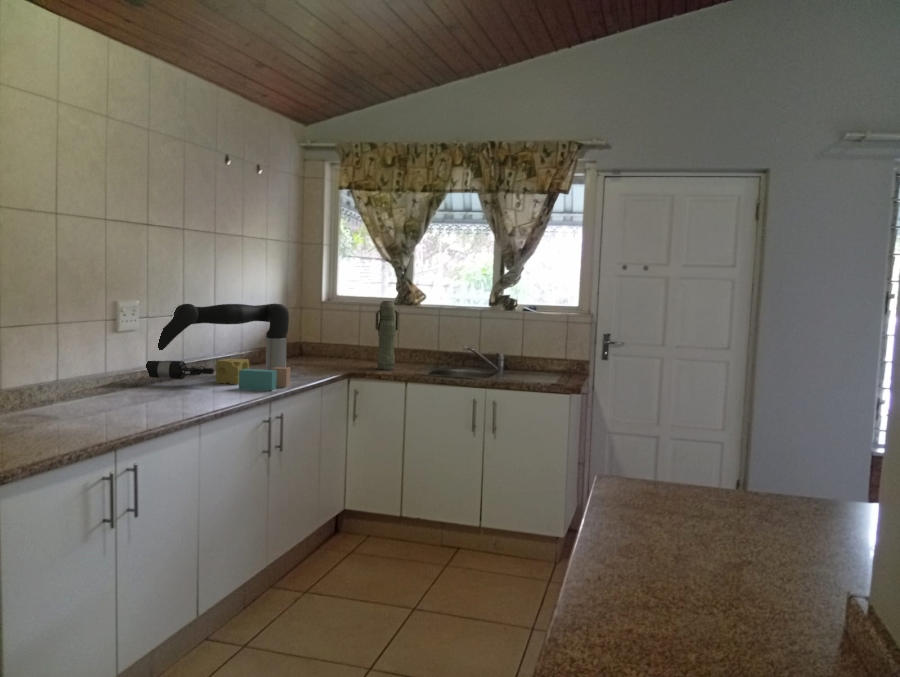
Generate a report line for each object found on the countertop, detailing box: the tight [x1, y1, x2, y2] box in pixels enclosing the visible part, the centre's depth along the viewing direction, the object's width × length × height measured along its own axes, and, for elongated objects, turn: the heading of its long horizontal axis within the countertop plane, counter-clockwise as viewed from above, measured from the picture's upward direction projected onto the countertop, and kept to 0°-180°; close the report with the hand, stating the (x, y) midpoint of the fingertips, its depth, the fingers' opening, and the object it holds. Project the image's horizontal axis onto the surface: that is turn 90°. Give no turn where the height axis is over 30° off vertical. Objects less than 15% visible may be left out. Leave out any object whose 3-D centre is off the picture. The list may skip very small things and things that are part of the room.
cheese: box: [215, 358, 250, 385], centre depth 307 cm, size 10×11×10 cm
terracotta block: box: [272, 366, 291, 388], centre depth 301 cm, size 6×6×8 cm
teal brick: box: [238, 368, 277, 391], centre depth 292 cm, size 5×14×8 cm, turn 83°
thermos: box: [374, 300, 399, 371], centre depth 368 cm, size 9×12×35 cm
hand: (213, 371), depth 293 cm, fingers closed
